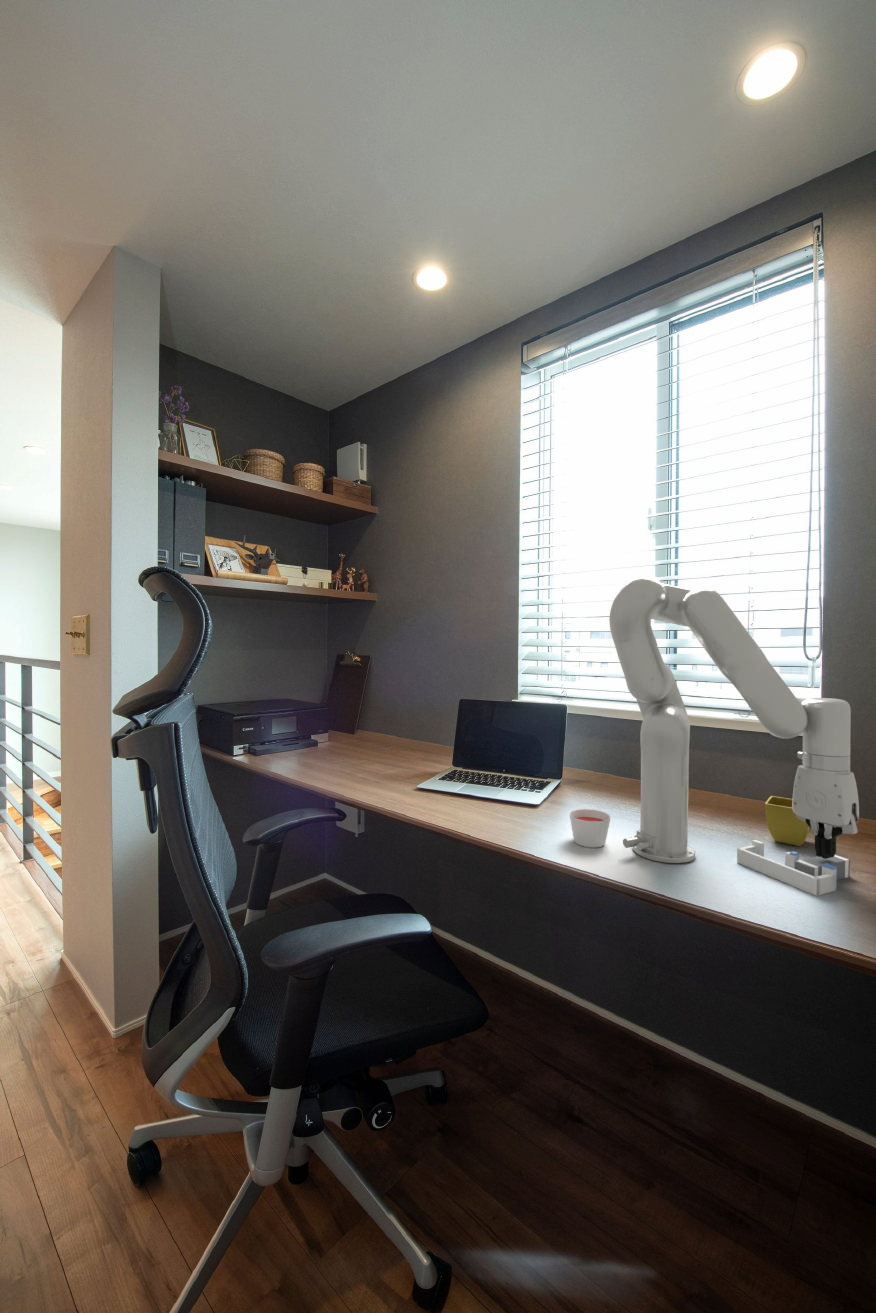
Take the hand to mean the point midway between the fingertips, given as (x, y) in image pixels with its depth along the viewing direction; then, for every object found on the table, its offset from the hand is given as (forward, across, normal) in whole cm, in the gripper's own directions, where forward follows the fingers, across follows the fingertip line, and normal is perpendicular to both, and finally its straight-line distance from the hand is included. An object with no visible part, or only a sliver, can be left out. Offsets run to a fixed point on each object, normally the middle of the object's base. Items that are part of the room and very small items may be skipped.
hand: (825, 856), depth 106 cm
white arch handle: (+4, -4, -6) cm, 9 cm away
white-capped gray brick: (+4, 0, 0) cm, 4 cm away
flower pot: (+4, -16, +13) cm, 21 cm away
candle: (+4, -33, -30) cm, 45 cm away
